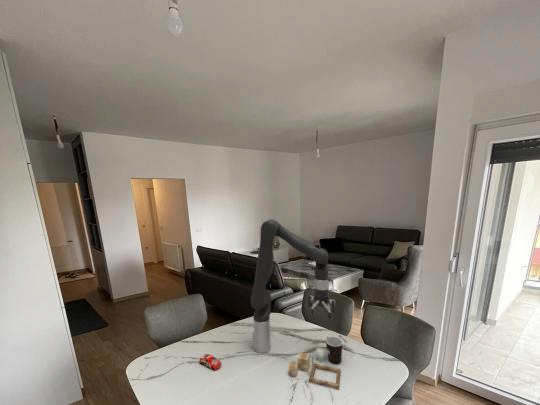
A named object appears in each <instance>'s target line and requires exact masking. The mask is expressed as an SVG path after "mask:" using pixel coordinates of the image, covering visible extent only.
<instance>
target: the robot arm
mask: <svg viewBox="0 0 540 405" xmlns="http://www.w3.org/2000/svg"><path fill="white" fill-rule="evenodd" d="M259 236H260V240H259V241H260V242H259V247H258V255H257V259H256V260H257V261H256V267H255V268H256V269H255V276H254V282H253V288H252V291H251V296H250V304H251V307H252V308H253V309H254V310H255V311H254V313H253V332H252V350H253V351H255V352H256V353H258V354H265V353H268V352H269V351H271V324H270V315H271V311H272V300H271V299H272V298H271V294H270V292H269V291H268V290H267V289H266V287H267V284H268V282H269V280H270V278H271V276H272V273H273V267H274V259H275V258H274V249H273V248H274V247H273V246H274V241H275V237H277V238H280V239H282V240H283V241H285V242H286V243H287V244H289V245H290V246H291V247H292V248H293V249H295V250H296V251H298V252H299V253H302V254H303V255H305V256H307V257H308V258H309V259H310V260H312V261H313V262H315V264H314V265H315V267H314V283H313V285H314V289H313V290H314V291H313V292H314V293H313V294H314V295H313V294H310V295H308V300H307V301H308V302H307V307H308V308H311V315H312V316H313V317H314V316H315V315H316V308H315V307H316V306H318V307H322V308H325V309H326V310H327V311H328V320H329V321H330V320H331V319H332V317H333V313H335V312H336V310H337V309H336V300H335V299H334V298H333V299H332V298H331V299H330V289H329V288H330V284H329V269H328V265H329V253H328V251H327V250H326V249H325V248H321V247H320V248H318V247H317V246H314V244H313V243H311V242H310V241H308V240H307V239H304V238H302V237H301V236H299V235H297V234H295V233H294V232H292V231H291V230H289V229H287V228H286V227H284V225H282V224H281V223H279V221H277V220H276V219H268V220H266V221H264V222H262V224H261V226H260V235H259ZM313 301H314V303H313V304H312V302H313ZM329 303H330V304H331V305H330V304H329Z"/></svg>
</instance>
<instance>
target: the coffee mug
mask: <svg viewBox="0 0 540 405" xmlns="http://www.w3.org/2000/svg"><path fill="white" fill-rule="evenodd" d="M343 342H344V341H343V340H342V339H341V338H339V337H338V336H326V339H325V344H326V345H325V347H326V351H327V352H326V353H327V359H328V362H329V363H330V364H333V365H336V366H337V365H340V364H341V363H342V355H343V354H342V353H343Z"/></svg>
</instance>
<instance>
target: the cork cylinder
mask: <svg viewBox="0 0 540 405" xmlns="http://www.w3.org/2000/svg"><path fill="white" fill-rule="evenodd" d="M288 375H289V377H290V378H296V377H298V362H296V361H293V360H292V361H290V362H288Z"/></svg>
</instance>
